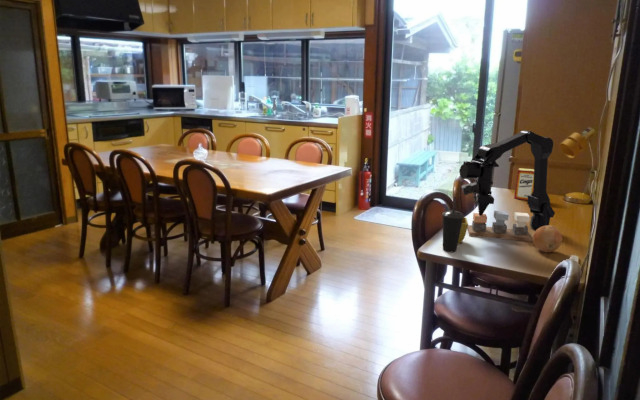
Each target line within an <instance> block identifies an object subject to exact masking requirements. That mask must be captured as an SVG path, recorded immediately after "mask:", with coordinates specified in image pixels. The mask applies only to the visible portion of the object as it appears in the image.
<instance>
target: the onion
mask: <svg viewBox="0 0 640 400" xmlns="http://www.w3.org/2000/svg"><path fill="white" fill-rule="evenodd" d="M532 237H533V241H532V242H533V244H534V246H535V248H537V250H540V252H544V253H552V252H555V251H557V250H558V249H559V248H560V247H561V246H562V243H563V235H562V233H561V232H560V231H559V229H557V227H556V226H554V225H550V224H549V225H548V226H542V227H540V228H538V229H537V230H534V232H533V235H532Z"/></svg>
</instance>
